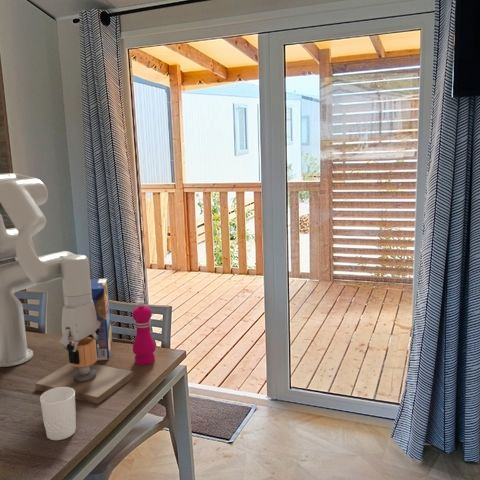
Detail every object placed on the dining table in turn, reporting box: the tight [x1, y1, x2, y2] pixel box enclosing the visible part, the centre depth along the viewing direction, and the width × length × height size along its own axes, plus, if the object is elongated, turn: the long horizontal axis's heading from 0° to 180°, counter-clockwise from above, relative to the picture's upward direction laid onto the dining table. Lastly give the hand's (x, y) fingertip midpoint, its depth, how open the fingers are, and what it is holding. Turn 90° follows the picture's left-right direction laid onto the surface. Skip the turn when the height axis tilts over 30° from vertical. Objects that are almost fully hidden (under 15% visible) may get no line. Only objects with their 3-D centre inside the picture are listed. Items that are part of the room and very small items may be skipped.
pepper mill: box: [132, 300, 157, 366], centre depth 155 cm, size 7×7×20 cm
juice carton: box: [90, 277, 113, 361], centre depth 161 cm, size 12×8×24 cm, turn 9°
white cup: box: [39, 387, 77, 441], centre depth 117 cm, size 8×8×10 cm
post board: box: [34, 362, 134, 405], centre depth 142 cm, size 22×16×9 cm
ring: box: [71, 337, 98, 367], centre depth 140 cm, size 7×7×6 cm
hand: (83, 357), depth 141 cm, fingers closed on ring, 7 cm apart
